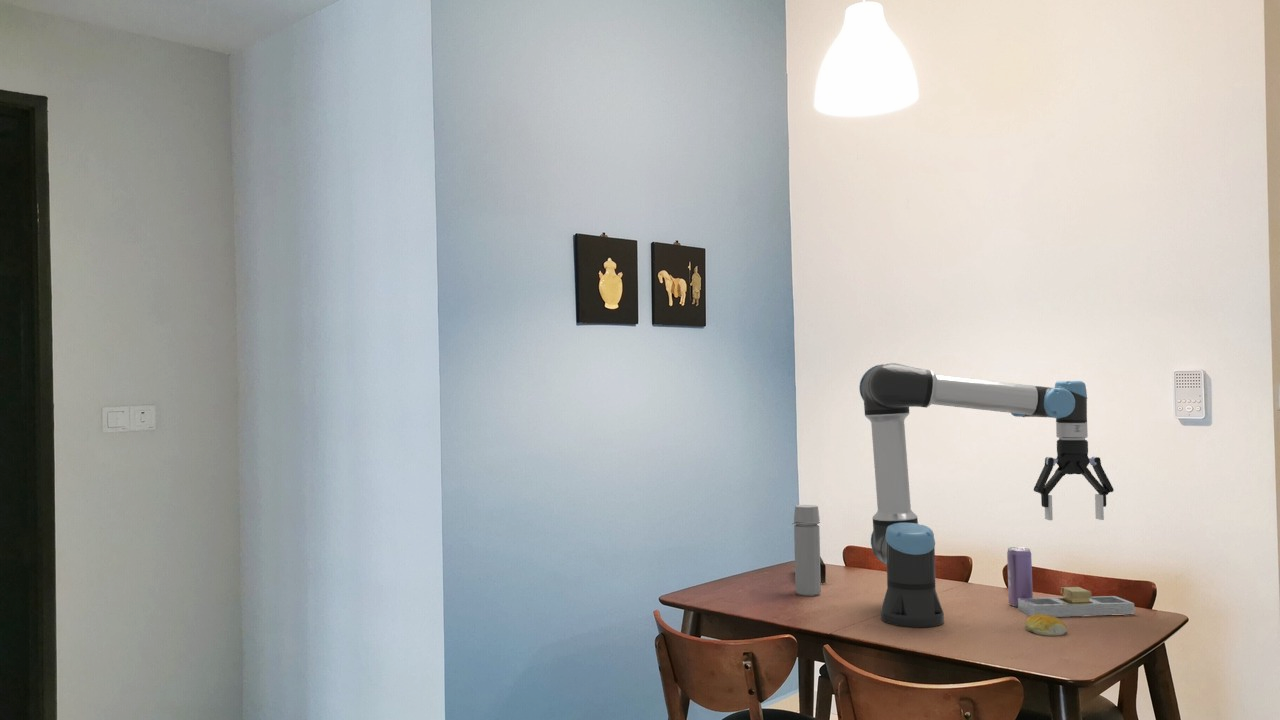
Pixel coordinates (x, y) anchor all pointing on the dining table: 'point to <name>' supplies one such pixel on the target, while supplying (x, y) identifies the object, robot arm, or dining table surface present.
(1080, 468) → the robot arm
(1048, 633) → the bread roll
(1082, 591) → the pale yellow block
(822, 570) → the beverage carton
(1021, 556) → the beverage can
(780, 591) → the dining table surface
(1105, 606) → the grey compartment tray
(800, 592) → the water bottle
